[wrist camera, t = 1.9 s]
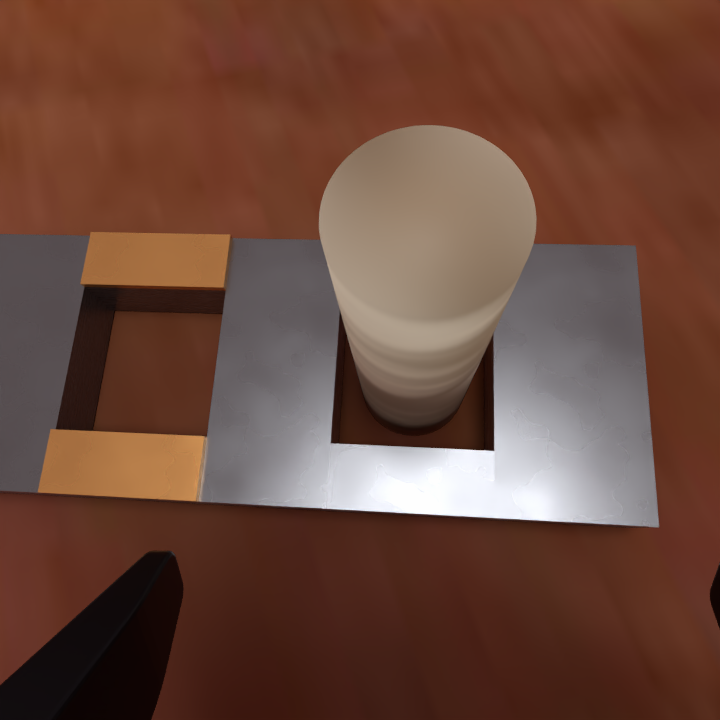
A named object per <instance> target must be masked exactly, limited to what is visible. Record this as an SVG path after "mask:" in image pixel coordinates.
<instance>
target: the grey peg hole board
mask: <svg viewBox="0 0 720 720" xmlns="http://www.w3.org/2000/svg"><path fill="white" fill-rule="evenodd" d="M114 311H150V312H184V313H219V314H223V316H222V324H221V332H220V339H219V347H218V355H217V362H216V370H215V378H214V386H213V393H212V401H211V409H210V417H209V424H208V432H207V437H205V436H187V435H166V434H144V433H122V432H100V431H92V430H93V425H94V419H95V414H96V409H97V403H98V398H99V392H100V387H101V381H102V376H103V371H104V365H105V360H106V354H107V349H108V343H109V338H110V333H111V327H112V322H113V316H114ZM345 339H346V330H345V327H344V323H343V319H342V316H341V312H340V308H339V305H338V301H337V297H336V294H335V290H334V287H333V283H332V279H331V276H330V272H329V268H328V265H327V261H326V257H325V254H324V250H323V247H322V243H321V240H292V239H237V238H232V237H231V235H221V234H164V233H107V232H91V234H90V236H72V235H16V234H0V493H15V494H33V495H51V496H68V497H86V498H104V499H122V500H140V501H158V502H176V503H194V504H212V505H230V506H248V507H266V508H284V509H302V510H320V511H338V512H356V513H374V514H392V515H410V516H428V517H446V518H464V519H482V520H500V521H518V522H536V523H554V524H571V525H589V526H607V527H625V528H642V527H659V520H658V508H657V496H656V484H655V472H654V460H653V448H652V436H651V424H650V412H649V400H648V388H647V376H646V364H645V352H644V340H643V328H642V316H641V303H640V291H639V279H638V267H637V255H636V246H624V245H568V244H533V246H532V249H531V252H530V255H529V257H528V259H527V262H526V264H525V266H524V268H523V270H522V272H521V275H520V277H519V279H518V281H517V283H516V285H515V288H514V290H513V292H512V294H511V296H510V298H509V301H508V303H507V305H506V307H505V309H504V311H503V314H502V316H501V318H500V320H499V322H498V324H497V327H496V329H495V331H494V333H493V335H492V337H491V340H490V342H489V344H488V346H487V348H486V350H485V353H484V450H464V449H442V448H420V447H399V446H377V445H356V444H339V430H340V415H341V400H342V385H343V370H344V354H345Z"/></svg>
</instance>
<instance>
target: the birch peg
mask: <svg viewBox="0 0 720 720" xmlns="http://www.w3.org/2000/svg"><path fill="white" fill-rule="evenodd" d="M319 231H320V239H321V243H322V247H323V250H324V254H325V257H326V261H327V265H328V268H329V272H330V276H331V279H332V283H333V287H334V290H335V294H336V297H337V301H338V305H339V308H340V312H341V316H342V319H343V323H344V327H345V330H346V334H347V337H348V341H349V345H350V348H351V352H352V356H353V359H354V363H355V366H356V370H357V374H358V377H359V381H360V385H361V388H362V392H363V396H364V399H365V403H366V405H367V407H368V409H369V411H370V412H371V414H372V415H373V416H374V418H375V419H376V420H377V421H378V422H379V423H380V424H382V425H383V426H384V427H386V428H387V429H389V430H391V431H394V432H396V433H399V434H403V435H411V436H414V435H424V434H428V433H431V432H434V431H436V430H438V429H440V428H441V427H443V426H444V425H445V424H447V423H448V422H449V421H450V420H451V419H452V418H453V416H454V415H455V414H456V412H457V410H458V409H459V407H460V405H461V402H462V400H463V398H464V396H465V394H466V392H467V389H468V387H469V385H470V383H471V381H472V379H473V376H474V374H475V372H476V370H477V368H478V366H479V363H480V361H481V359H482V357H483V355H484V353H485V350H486V348H487V346H488V344H489V342H490V340H491V337H492V335H493V333H494V331H495V329H496V327H497V324H498V322H499V320H500V318H501V316H502V314H503V311H504V309H505V307H506V305H507V303H508V301H509V298H510V296H511V294H512V292H513V290H514V288H515V285H516V283H517V281H518V279H519V277H520V275H521V272H522V270H523V268H524V266H525V264H526V262H527V259H528V257H529V255H530V252H531V249H532V246H533V243H534V238H535V233H536V210H535V204H534V200H533V196H532V193H531V190H530V188H529V185H528V183H527V181H526V179H525V178H524V176H523V174H522V173H521V171H520V170H519V168H518V167H517V166H516V165H515V163H514V162H513V161H512V160H511V159H510V158H509V157H508V156H507V155H506V154H505V153H504V152H503V151H501V150H500V149H499V148H497V147H496V146H495V145H493V144H492V143H490V142H488V141H487V140H485V139H483V138H481V137H479V136H477V135H474V134H472V133H470V132H467V131H463V130H460V129H456V128H451V127H445V126H434V125H423V126H412V127H406V128H400V129H397V130H393V131H390V132H387V133H385V134H382V135H380V136H377V137H375V138H374V139H372V140H370V141H368V142H366V143H365V144H363V145H362V146H360V147H359V148H358V149H356V150H355V151H354V152H353V153H351V154H350V155H349V156H348V157H347V158H346V159H345V160H344V161H343V162H342V164H341V165H340V166H339V167H338V168H337V170H336V171H335V173H334V174H333V176H332V177H331V179H330V181H329V183H328V185H327V187H326V189H325V192H324V195H323V198H322V202H321V207H320V213H319Z"/></svg>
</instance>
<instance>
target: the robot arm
mask: <svg viewBox="0 0 720 720" xmlns="http://www.w3.org/2000/svg"><path fill="white" fill-rule="evenodd" d="M182 598H183V582H182V578H181V574H180V571H179V567H178V563H177V560H176V557H175V554H174V553H173V552H172V551H149V552H148V553H146V554H145V555H143V556H142V557H141V558H140V559H139V560H138V561H137V562H136V563H135V564H133V565H132V566H131V567H130V568H129V569H128V570H127V571H126V572H125V573H124V574H122V575H121V576H120V577H119V578H118V579H117V580H116V581H115V582H114V583H113V584H111V585H110V586H109V587H108V588H107V589H106V590H105V591H104V592H103V593H101V594H100V595H99V596H98V597H97V598H96V599H95V600H94V601H93V602H92V603H90V604H89V605H88V606H87V607H86V608H85V609H84V610H83V611H82V612H81V613H79V614H78V615H77V616H76V617H75V618H74V619H73V620H72V621H71V622H69V623H68V624H67V625H66V626H65V627H64V628H63V629H62V630H61V631H60V632H58V633H57V634H56V635H55V636H54V637H53V638H52V639H51V640H50V641H49V642H47V643H46V644H45V645H44V646H43V647H42V648H41V649H40V650H39V651H37V652H36V653H35V654H34V655H33V656H32V657H31V658H30V659H29V660H28V661H26V662H25V663H24V664H23V665H22V666H21V667H20V668H19V669H18V670H17V671H15V672H14V673H13V674H12V675H11V676H10V677H9V678H8V679H7V680H5V681H4V682H3V683H2V684H1V685H0V720H151V719H152V716H153V713H154V710H155V707H156V704H157V701H158V698H159V695H160V691H161V688H162V684H163V681H164V677H165V673H166V668H167V664H168V660H169V655H170V651H171V646H172V642H173V638H174V633H175V629H176V625H177V620H178V616H179V612H180V607H181V603H182ZM710 601H711V605H712V608H713V611H714V614H715V617H716V620H717V623H718V625H719V628H720V563H719V566H718V569H717V572H716V575H715V578H714V580H713V583H712V586H711V590H710Z"/></svg>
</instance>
